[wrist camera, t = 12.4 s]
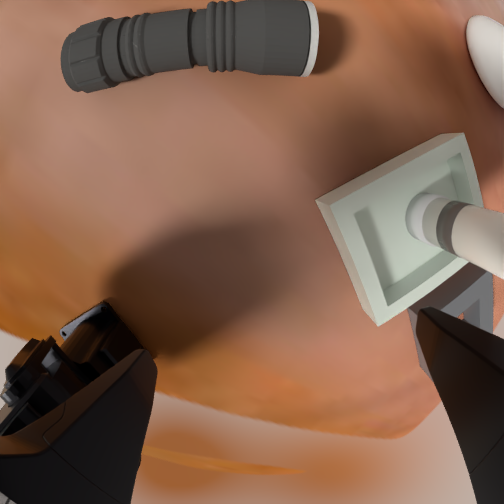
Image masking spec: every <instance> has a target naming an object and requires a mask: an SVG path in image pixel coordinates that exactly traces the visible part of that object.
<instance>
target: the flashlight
mask: <svg viewBox="0 0 504 504" xmlns="http://www.w3.org/2000/svg"><path fill="white" fill-rule="evenodd" d="M318 39H319V26H318V18H317V12H316V9H315V6H314V5H313V3H312V2H309V1H300V0H245V1H240V2H236V3H235V2H233V1H228V2H226V3H225V2H224V1H219V2H218V3H216V2H213V1H212V2H210V3H208V5H207V9H198V10H197V12H193V11H192V9H182V10H174V11H167V12H160V13H154V14H150V13H144V14H142V15H135V16H133V17H132V18H130V17H123V18H119V19H113V18H112V17H107V18H104V19H100V20H97V21H94V22H90V23H87V24H84V25H81V26H80V27H79V28H78V29H77V30H76V31H75V32H73V33H71V34H69V35H68V37H67V38H66V39H65V41H64V44H63V47H62V51H61V68H62V73H63V76H64V79H65V81H66V83H67V85H68V86H69V87H70V88H71V89H72V90H74V91H77V92H79V91H84V92H86V93H90V92H94V91H98V90H102V89H107V88H111V87H115V86H117V85H118V84H119V83H120V82H121V81H126V80H131V79H133V78H134V77H135V76H138V77H143V76H145V75H147V76H150V75H153V74H154V73H157V72H164V71H172V70H181V69H190V68H193V67H194V64H198V65H199V66H206V65H208V69H209V71H211V72H213V73H214V72H216V71H217V70H219V71H220V72H224V71H225V70H228V71H230V72H232V71H233V70H240V71H245V72H250V73H254V74H259V75H284V76H300V77H307V76H309V74H310V73H311V71H312V69H313V67H314V64H315V60H316V56H317V49H318Z"/></svg>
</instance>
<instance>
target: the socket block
mask: <svg viewBox="0 0 504 504" xmlns="http://www.w3.org/2000/svg"><path fill="white" fill-rule="evenodd" d="M427 306H431V307H434V308H436V309H438V310H440V311H443V312H445V313H447V314H449V315H452V316H454V317H456V318H457V317H458V316H459V315H460V314H461V313H463V312H464V319H463V321H465V322H467V323H469V324H472V325H474V326H476V327H478V328H481V329H483V330H485V331H487V332H489V333H491V334H492V333H493V278H492V273H490V272H489V271H487V270H485V269H483V268H481V267H479V266H477V265H475V264H473V263H471V262H468V263H467V264H466V265H464V266H463V267H462V268H461V269H459V270H458V271H457V272H456V273H454V274H453V275H452V276H451V277H449V278H448V279H447V280H445V281H444V282H443V283H441V284H440V285H439V286H437V287H436V288H435V289H433V290H432V291H431V292H429V293H428V294H426V295H425V296H424V297H422V298H421V299H419V300H418V301H417V302H415V303H414V304H412V305H411V306H409V307H408V308H407V309H408V313H409V317H410V321H411V325H412V330H413V334H414V339H415V343H416V348H417V353H418V358H419V363H420V367H421V368H422V369H423V370H424V372H425V373H426V374H427V375H428V376H429V377H430V379H431V380H432V377H431V375H430V373H429V370H428V367H427V364H426V361H425V359H424V356H423V353H422V350H421V347H420V344H419V342H418V339H417V336H416V322H417V314H418V310H419V309H420V308H424V307H427ZM432 381H433V380H432Z"/></svg>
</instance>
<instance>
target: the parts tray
mask: <svg viewBox="0 0 504 504" xmlns="http://www.w3.org/2000/svg"><path fill="white" fill-rule="evenodd" d="M422 192H427V193H432V194H437V195H442V196H445V197H447V198H448V199H450V200H454V201H461V202H465V203H469V204H473V205H475V206H479V207H483V208H484V206H483V201H482V196H481V192H480V187H479V183H478V179H477V175H476V171H475V167H474V164H473V160H472V157H471V153H470V150H469V147H468V144H467V141H466V138H465V135H464V133H446V134H439V135H437V136H435V137H433V138H432V139H430V140H428V141H426V142H424V143H422V144H420V145H418V146H416V147H414V148H412V149H410V150H408V151H406V152H404V153H402V154H400V155H399V156H397V157H395V158H393V159H391V160H389V161H387V162H385V163H383V164H381V165H379V166H377V167H376V168H374V169H372V170H370V171H368V172H366V173H364V174H362V175H360V176H359V177H357V178H355V179H353V180H351V181H349V182H347V183H345V184H343V185H342V186H340V187H338V188H336V189H334V190H332V191H330V192H328V193H327V194H325V195H323V196H321V197H319V198H317V199H315V201H316V203H317V205H318V207H319V209H320V211H321V214H322V216H323V218H324V220H325V222H326V224H327V226H328V229H329V231H330V233H331V235H332V237H333V240H334V242H335V244H336V246H337V248H338V251H339V253H340V255H341V258H342V260H343V262H344V265H345V267H346V269H347V272H348V274H349V276H350V279H351V281H352V284H353V286H354V289H355V291H356V294H357V296H358V299H359V301H360V304H361V306H362V309H363V310H364V311H365V312H366V313H367V315H368V316H369V317H370V318H371V319H372V320H373V321H374V323H375V324H376V325H377V326H378V327H379V326H380V325H382V324H383V323H385V322H387V321H388V320H390V319H391V318H393V317H394V316H396V315H397V314H399V313H400V312H402V311H403V310H405V309H406V308H408V307H409V306H411V305H412V304H414V303H415V302H417V301H418V300H419V299H421V298H422V297H424V296H425V295H426V294H428V293H429V292H431V291H432V290H433V289H435V288H436V287H437V286H439V285H440V284H441V283H443V282H444V281H445V280H447V279H448V278H449V277H451V276H452V275H453V274H454V273H456V272H457V271H458V270H459V269H461V268H462V267H463V266H464V265H466V264H467V263H468V262H469V261H467V260H465V259H463V258H460V257H458V256H455V255H453V254H451V253H449V252H447V251H445V250H443V249H442V248H439V247H433V246H430V245H428V244H426V243H424V242H422V241H419V240H417V239H415V238H413V237H412V236H411V235H410V233H409V232H408V230H407V227H406V222H405V215H406V210H407V207H408V204H409V202H410V201H411V199H412V198H413V197H414V196H415V195H417V194H419V193H422Z"/></svg>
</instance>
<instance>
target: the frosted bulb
mask: <svg viewBox="0 0 504 504" xmlns="http://www.w3.org/2000/svg"><path fill="white" fill-rule="evenodd" d="M405 222H406V227H407V230H408V232H409V233H410V235H411V236H412V237H413V238H415V239H417V240H419V241H422V242H424V243H426V244H428V245H430V246H433V247H439V248H442V249H443V250H445V251H447V252H449V253H451V254H453V255H455V256H458V257H460V258H463V259H465V260H467V261H469V262H471V263H473V264H475V265H477V266H479V267H481V268H483V269H485V270H487V271H489V272H490V273H492V274H494V275H496V276H498V277H500V278H502V279H504V213H501V212H497V211H494V210H490V209H486V208H483V207H479V206H475V205H473V204H469V203H465V202H461V201H454V200H450V199H448V198H447V197H445V196H442V195H437V194H432V193H427V192H422V193H419V194H417V195H415V196H414V197H413V198H412V199H411V201H410V202H409V204H408V207H407V210H406V215H405Z"/></svg>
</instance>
